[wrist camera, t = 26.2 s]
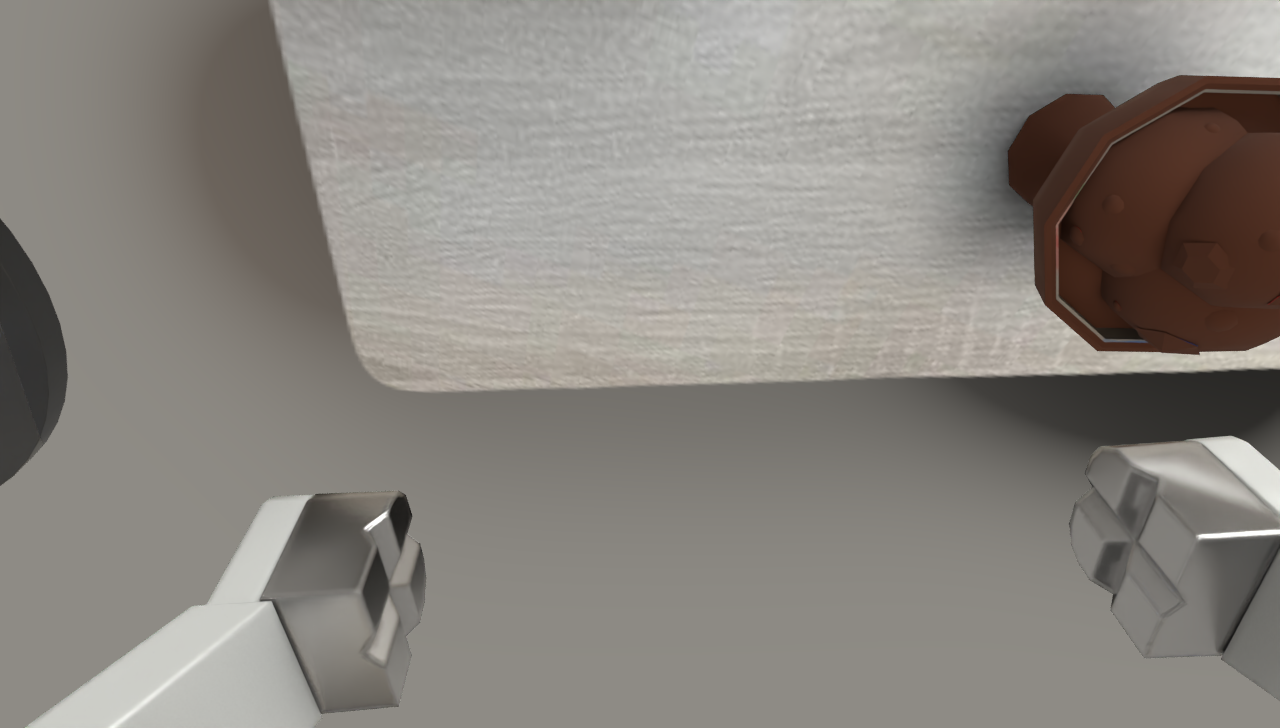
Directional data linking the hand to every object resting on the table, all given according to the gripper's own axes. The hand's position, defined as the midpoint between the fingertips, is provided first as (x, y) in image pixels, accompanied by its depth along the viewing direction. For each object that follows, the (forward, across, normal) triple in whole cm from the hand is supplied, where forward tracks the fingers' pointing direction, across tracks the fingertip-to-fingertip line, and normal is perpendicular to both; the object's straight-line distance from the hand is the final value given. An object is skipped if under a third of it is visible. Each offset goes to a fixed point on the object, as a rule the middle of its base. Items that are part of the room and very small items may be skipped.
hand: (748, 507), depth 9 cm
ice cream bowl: (+29, -20, +6) cm, 35 cm away
